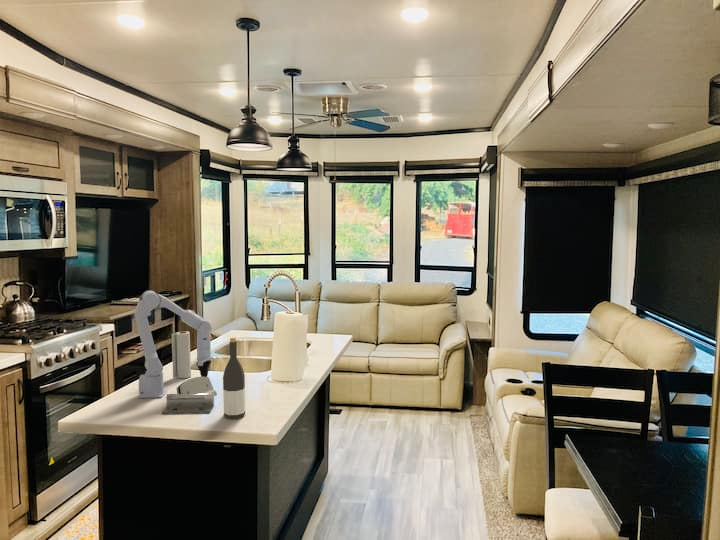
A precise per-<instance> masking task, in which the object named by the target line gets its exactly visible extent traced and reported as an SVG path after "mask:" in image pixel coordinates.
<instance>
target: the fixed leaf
mask: <svg viewBox="0 0 720 540" xmlns="http://www.w3.org/2000/svg"><path fill="white" fill-rule="evenodd" d="M165 401H166V407H165V408H164V409H163V410H162V412H161V413H162V415H170V414H169V413H173V414H172V415H181V414H180V413H192V414H211V412H212V411H213V408H214V407H215V396H214V393H212V394H177V393H172V394H171V393H167V394H166V400H165Z"/></svg>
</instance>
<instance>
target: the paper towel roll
mask: <svg viewBox="0 0 720 540" xmlns="http://www.w3.org/2000/svg"><path fill="white" fill-rule="evenodd" d="M190 333H191V332H190V331H187V330H186V331H178V332H174V333H171V353H172V355H171V357H172V358H171V359H172V379H175V378H178V379H188V378H190V377H192V367H191V366H192V364H191V363H192V362H191V359H192V358H191V334H190Z"/></svg>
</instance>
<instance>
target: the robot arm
mask: <svg viewBox="0 0 720 540" xmlns="http://www.w3.org/2000/svg"><path fill="white" fill-rule="evenodd" d="M157 307H158V308H165V309H167V310H169V311H171V312H172V313H174V314H176V315H178V317H180V320H181V322H182V323H185V324H186V325H187V326H189V327H191V328H192V329H195V331H196V366H197V368H198V370H199V374H200V377H208V375H209V370H210V365H211V364H212V360H213V359H214V356H211V355H212V354H211V351H212V350H211V332H212V326H211V325H212V324H211V323H210V322H209V321H208V320H206V318H205V317H203V316H200V315H198V314H197V313H196V312H195V310H193V309H192V310H191V309H183V308H182V307H180V306H179V305H178V304H176V303H175V302H173V301H172V300H170V299H169V298H168V297H166V296H164V295H162V294H160V293H156V292H155V291H154V290H151V289H150V290H146V291H144V292H143V293H142V294H141V295H140V296H139V298H138V302H137V304H136V307H135V310H134V313H133V314H134V319H135V323H136V326H137V331H138V334H139V338H140V341H141V346H142V349H143V353H144V358H145V361H144V368H145V369H146V371H145V372H144V374H140V375H139V378H138V398H139V399H140V398H141V399H143V398H144V399H145V398H146V399H147V398H148V399H150V398H162V397H164V395H166V393H167V390H164V372H163V370H164V366H163V364H162V362H161V360H160V359H159V357H158V353H157V350H156V347H155V342H154V339H153V334H152V331H151V327H150V322H149V319H148V315H149V314H150V313H151V311H153V310H154V309H155V308H157Z"/></svg>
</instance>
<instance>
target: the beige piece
mask: <svg viewBox="0 0 720 540" xmlns="http://www.w3.org/2000/svg"><path fill="white" fill-rule="evenodd" d="M212 393H214V397H215V396H218V394H217V393H218V392H217V390H215V389H214V386H213V384H212V381H211V379H210V377H208V376H207V377H201V376H195V377H192V378H189V379H187V380H184V381H182V383H180V384H178V386H177V387H176V394H212Z"/></svg>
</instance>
